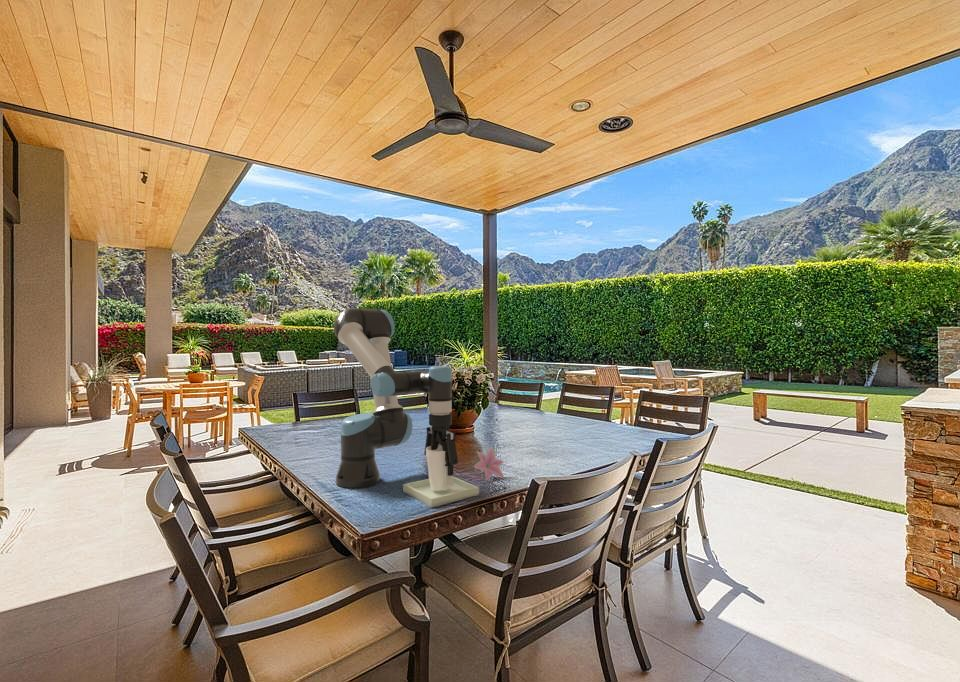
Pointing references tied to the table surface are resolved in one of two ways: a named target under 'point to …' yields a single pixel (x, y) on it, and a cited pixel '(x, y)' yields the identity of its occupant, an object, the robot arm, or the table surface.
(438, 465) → the foam cup
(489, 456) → the lily
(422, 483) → the tray
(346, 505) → the table surface
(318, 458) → the table surface
